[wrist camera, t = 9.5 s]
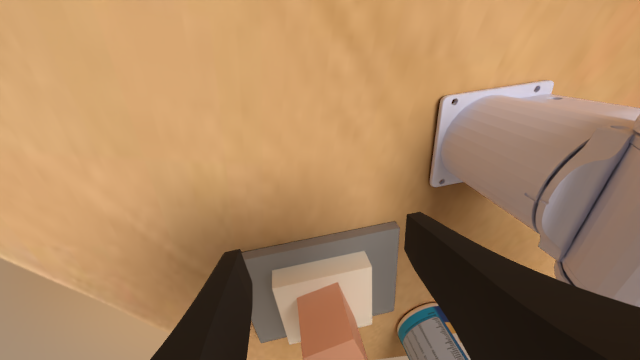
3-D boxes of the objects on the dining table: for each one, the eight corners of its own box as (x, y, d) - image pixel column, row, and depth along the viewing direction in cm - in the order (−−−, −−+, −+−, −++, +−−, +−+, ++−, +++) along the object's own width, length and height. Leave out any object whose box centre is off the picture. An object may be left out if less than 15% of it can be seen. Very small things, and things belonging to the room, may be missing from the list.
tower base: (395, 221, 24) (410, 242, 21) (390, 303, 30) (401, 327, 28) (229, 255, 22) (223, 282, 20) (261, 334, 29) (260, 362, 26)
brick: (337, 281, 22) (353, 338, 18) (354, 316, 25) (371, 372, 21) (296, 297, 22) (302, 358, 18) (318, 330, 25) (328, 389, 21)
